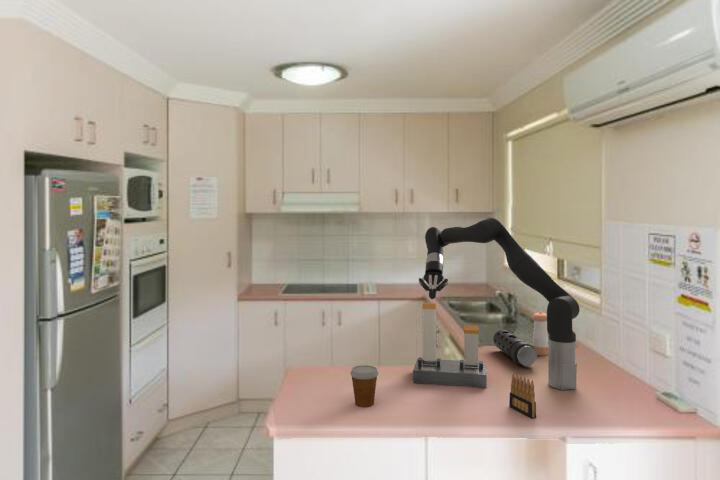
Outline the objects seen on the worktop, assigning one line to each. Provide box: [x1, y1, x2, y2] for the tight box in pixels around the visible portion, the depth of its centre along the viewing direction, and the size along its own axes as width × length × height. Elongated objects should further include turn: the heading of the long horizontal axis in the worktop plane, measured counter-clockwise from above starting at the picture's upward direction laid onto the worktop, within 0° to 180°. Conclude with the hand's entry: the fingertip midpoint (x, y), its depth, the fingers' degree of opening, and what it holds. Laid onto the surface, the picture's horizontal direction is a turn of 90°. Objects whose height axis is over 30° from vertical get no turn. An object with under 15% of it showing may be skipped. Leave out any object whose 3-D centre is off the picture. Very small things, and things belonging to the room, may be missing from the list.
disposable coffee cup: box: [350, 364, 379, 408], centre depth 174 cm, size 10×10×12 cm
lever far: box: [422, 302, 437, 365], centre depth 200 cm, size 2×5×24 cm, turn 77°
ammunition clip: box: [508, 371, 537, 420], centre depth 166 cm, size 11×2×12 cm, turn 23°
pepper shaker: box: [531, 310, 549, 356], centre depth 232 cm, size 7×7×19 cm
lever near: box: [463, 324, 480, 367], centre depth 189 cm, size 2×5×24 cm
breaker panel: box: [412, 356, 488, 389], centre depth 199 cm, size 16×27×7 cm, turn 77°
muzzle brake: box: [492, 329, 538, 367], centre depth 223 cm, size 10×28×10 cm, turn 5°
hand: (432, 298), depth 213 cm, fingers closed
